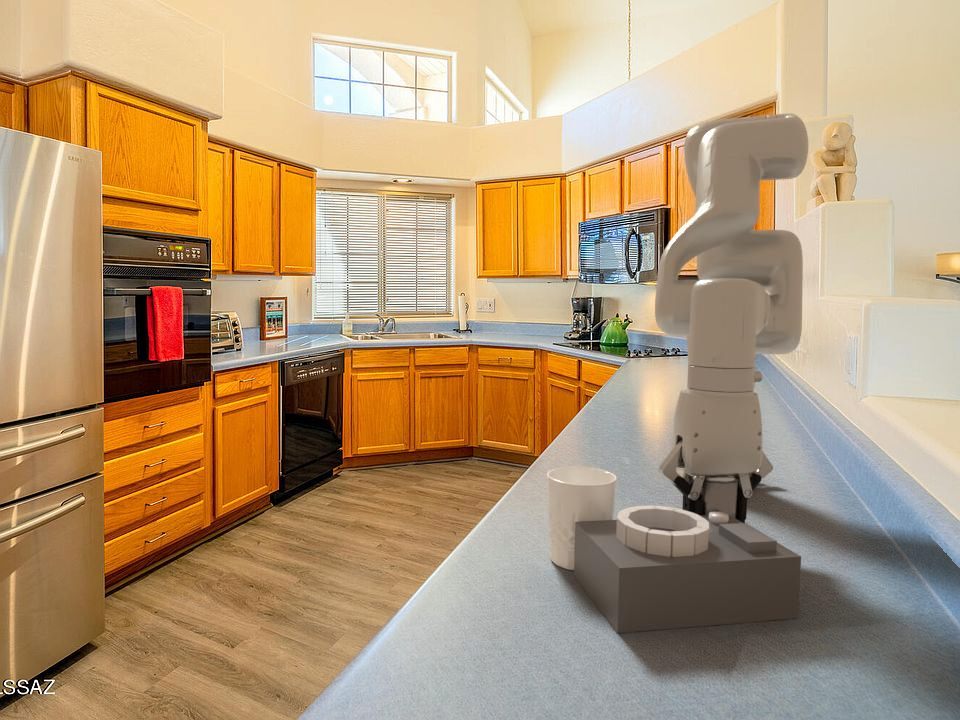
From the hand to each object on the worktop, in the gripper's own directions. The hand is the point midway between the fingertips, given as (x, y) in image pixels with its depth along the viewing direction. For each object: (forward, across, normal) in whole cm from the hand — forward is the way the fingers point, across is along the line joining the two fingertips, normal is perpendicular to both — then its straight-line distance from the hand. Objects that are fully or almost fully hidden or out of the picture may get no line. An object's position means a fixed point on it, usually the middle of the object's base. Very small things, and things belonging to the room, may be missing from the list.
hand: (713, 525), depth 75 cm
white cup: (+3, +18, +2) cm, 18 cm away
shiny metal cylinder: (+2, 0, 0) cm, 2 cm away
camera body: (+2, +11, +12) cm, 16 cm away
